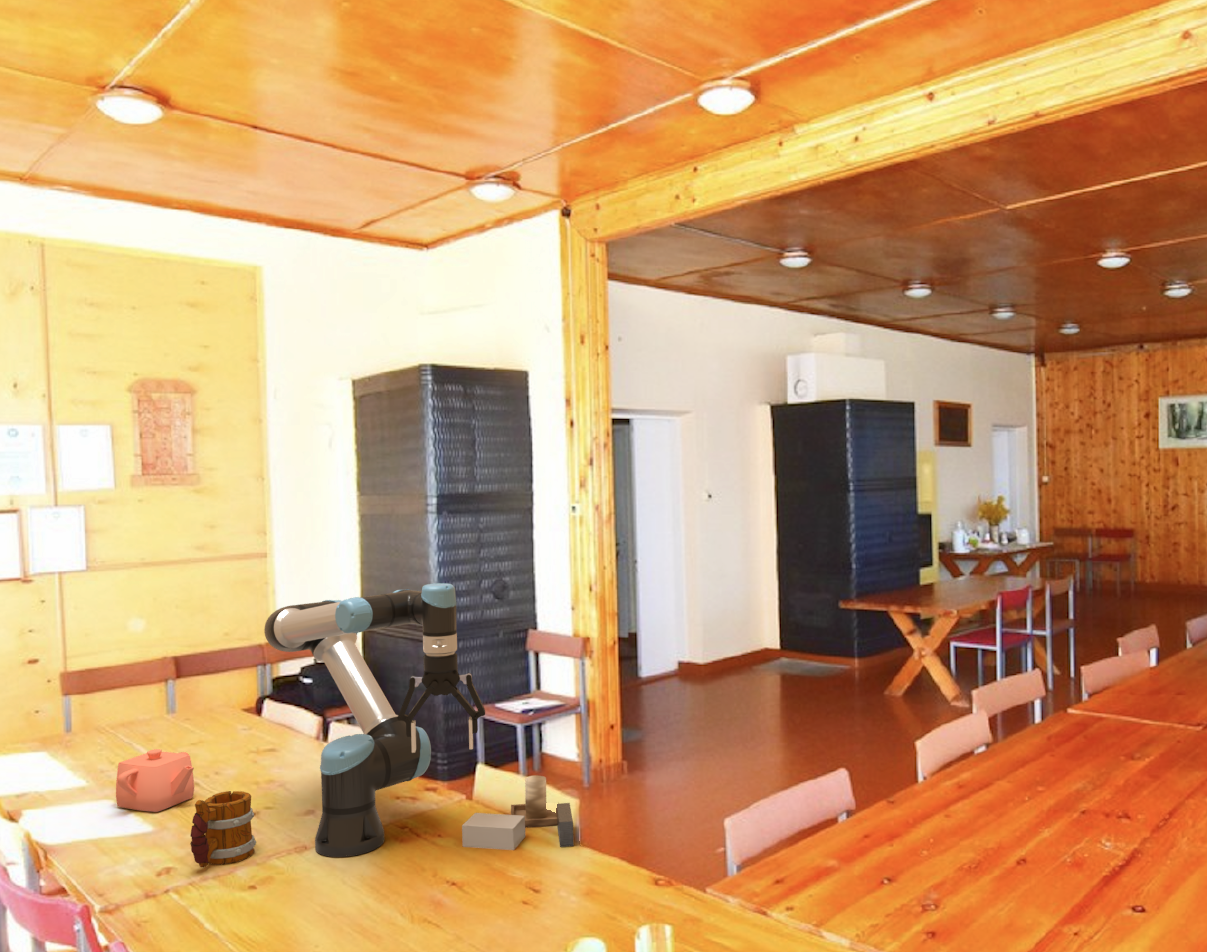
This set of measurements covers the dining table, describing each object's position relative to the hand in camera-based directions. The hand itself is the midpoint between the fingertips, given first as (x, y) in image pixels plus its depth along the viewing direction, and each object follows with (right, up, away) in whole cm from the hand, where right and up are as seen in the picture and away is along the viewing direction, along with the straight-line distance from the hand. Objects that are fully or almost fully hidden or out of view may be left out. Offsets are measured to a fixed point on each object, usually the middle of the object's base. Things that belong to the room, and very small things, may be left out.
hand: (442, 749), depth 211 cm
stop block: (+28, -20, +2) cm, 34 cm away
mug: (-48, -23, -5) cm, 53 cm away
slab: (+12, -21, +1) cm, 24 cm away
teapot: (-78, -24, +33) cm, 89 cm away
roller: (+20, -20, +14) cm, 32 cm away
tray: (+20, -21, +14) cm, 32 cm away
